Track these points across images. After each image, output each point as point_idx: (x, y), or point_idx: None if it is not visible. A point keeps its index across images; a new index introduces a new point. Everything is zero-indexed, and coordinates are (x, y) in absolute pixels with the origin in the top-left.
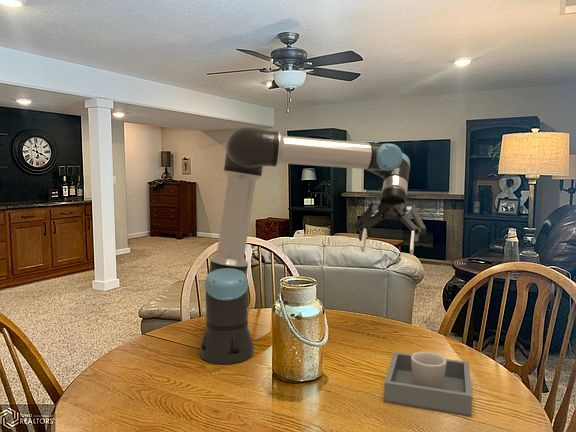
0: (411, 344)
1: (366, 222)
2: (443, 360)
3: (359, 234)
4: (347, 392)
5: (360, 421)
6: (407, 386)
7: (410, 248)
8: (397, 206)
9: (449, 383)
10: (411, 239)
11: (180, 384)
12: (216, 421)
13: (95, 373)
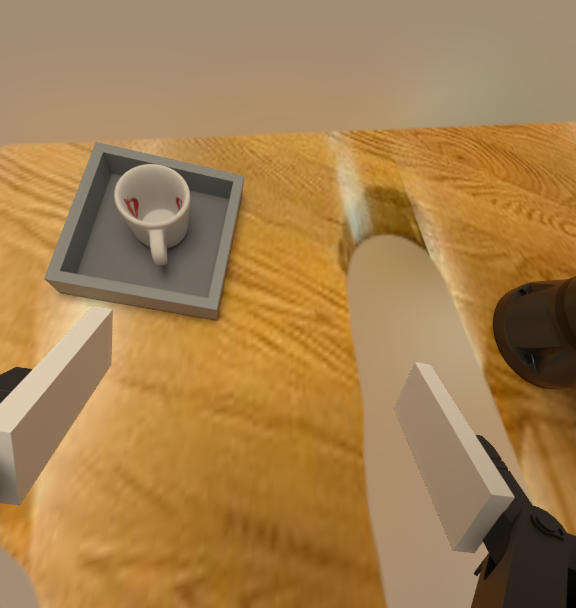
0: (153, 481)
1: (550, 590)
2: (120, 194)
3: (501, 465)
4: (300, 218)
5: (276, 146)
6: (204, 167)
7: (106, 311)
8: None
9: (110, 261)
10: (66, 356)
11: (540, 216)
12: (448, 137)
13: None
